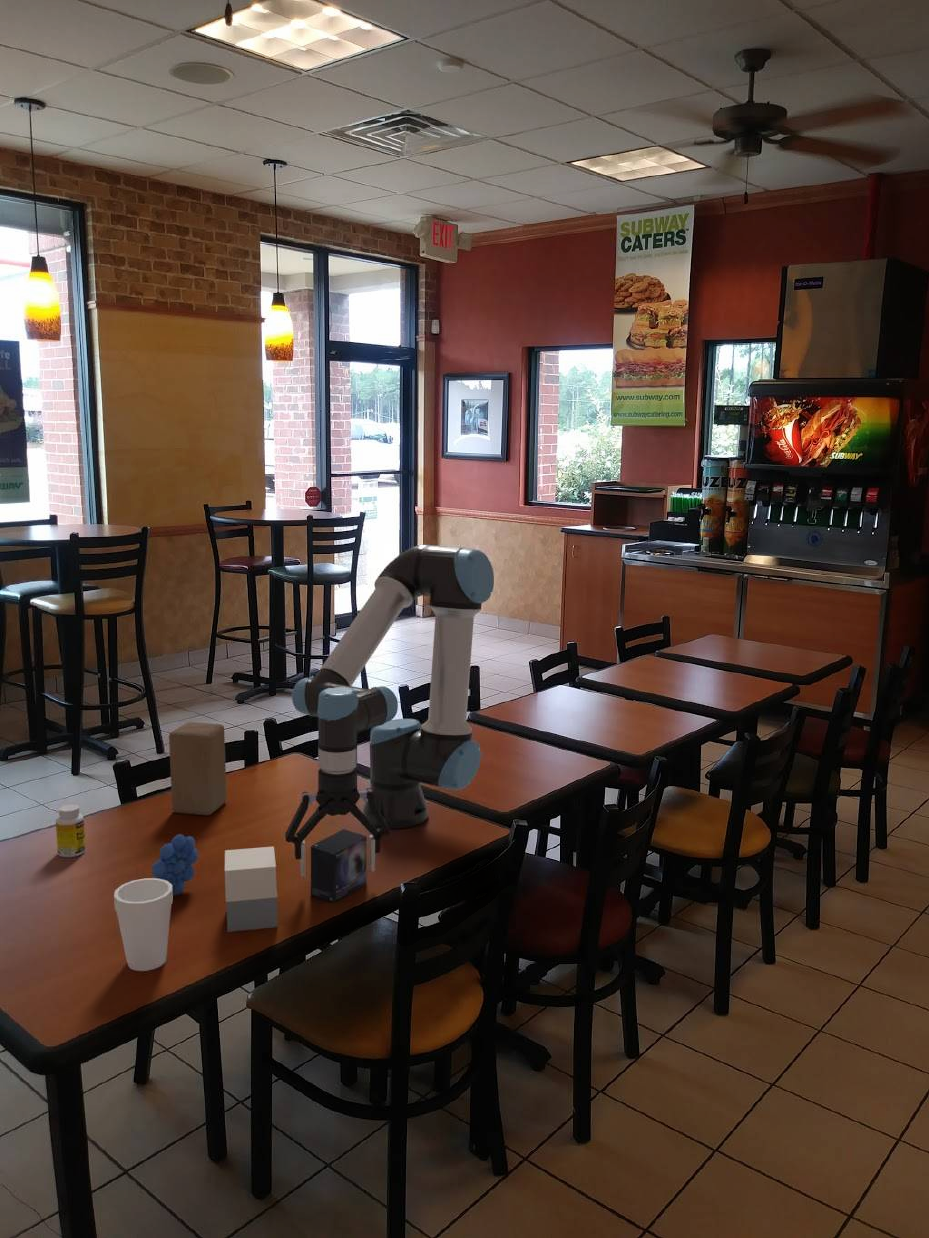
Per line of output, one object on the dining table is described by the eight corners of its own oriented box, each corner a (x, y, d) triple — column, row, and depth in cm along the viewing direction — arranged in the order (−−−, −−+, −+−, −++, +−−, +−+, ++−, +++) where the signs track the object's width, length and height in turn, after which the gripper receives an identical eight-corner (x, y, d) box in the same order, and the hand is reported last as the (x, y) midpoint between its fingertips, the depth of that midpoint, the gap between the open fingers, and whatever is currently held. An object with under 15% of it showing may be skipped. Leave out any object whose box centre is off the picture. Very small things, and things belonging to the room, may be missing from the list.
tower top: (274, 875, 189) (273, 846, 188) (276, 897, 180) (275, 866, 179) (226, 880, 187) (225, 850, 186) (225, 901, 178) (224, 870, 177)
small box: (335, 904, 190) (334, 853, 188) (309, 896, 194) (308, 845, 192) (368, 884, 199) (368, 835, 197) (343, 876, 202) (342, 827, 200)
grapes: (181, 878, 200) (179, 822, 198) (207, 885, 197) (204, 829, 195) (137, 901, 190) (134, 842, 188) (163, 909, 187) (160, 850, 185)
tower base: (275, 904, 190) (275, 875, 189) (277, 927, 181) (277, 897, 180) (227, 909, 188) (226, 879, 187) (227, 932, 179) (226, 901, 178)
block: (210, 817, 232) (206, 735, 228) (170, 813, 234) (167, 732, 230) (228, 802, 241) (225, 723, 238) (190, 798, 243) (187, 720, 240)
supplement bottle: (80, 858, 209) (77, 812, 207) (53, 858, 209) (50, 812, 207) (89, 847, 214) (86, 802, 213) (63, 847, 214) (60, 802, 212)
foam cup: (181, 947, 174) (178, 878, 171) (168, 975, 165) (164, 903, 162) (127, 947, 174) (123, 878, 171) (110, 975, 164) (106, 903, 162)
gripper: (398, 758, 198) (397, 858, 202) (271, 765, 192) (272, 868, 196) (404, 770, 191) (403, 874, 194) (273, 777, 185) (274, 884, 189)
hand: (337, 871), depth 195 cm, fingers open, 13 cm apart
